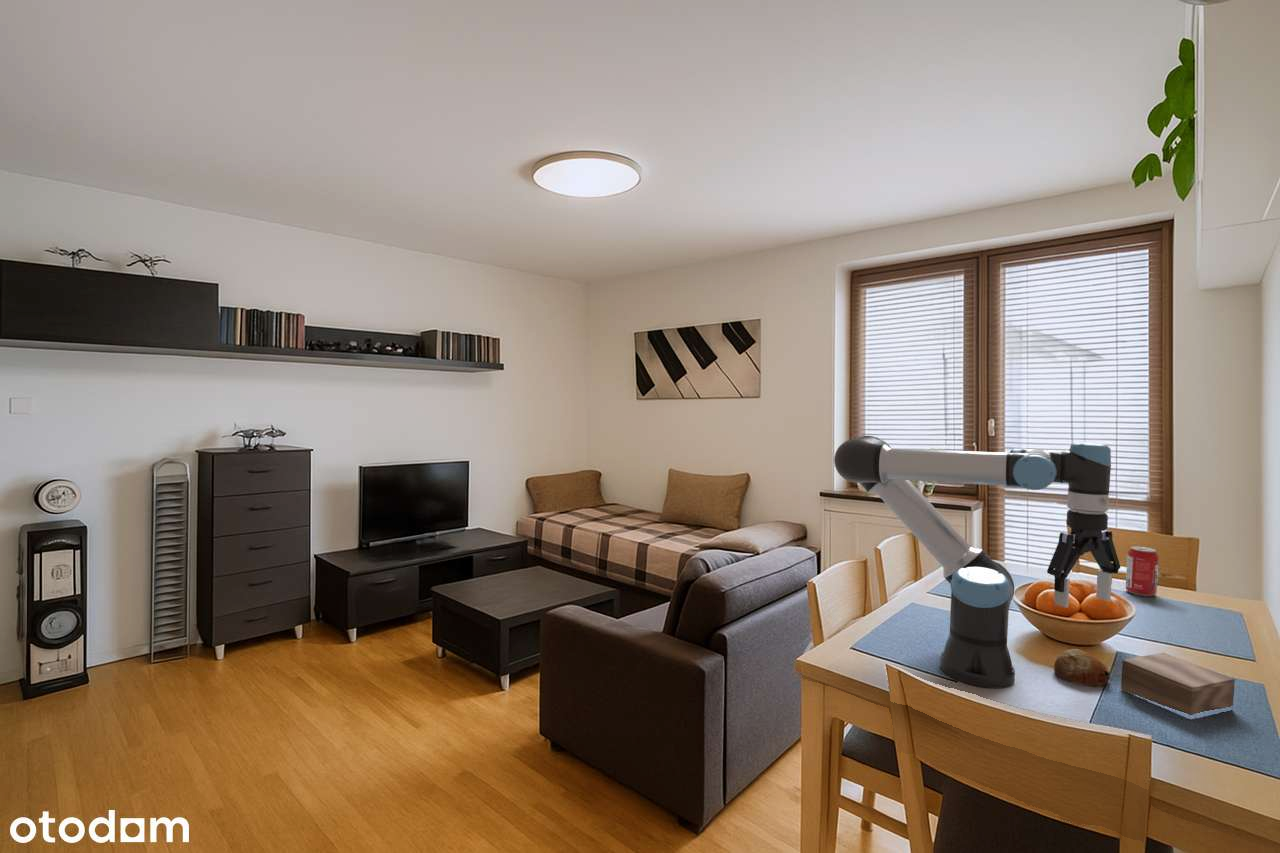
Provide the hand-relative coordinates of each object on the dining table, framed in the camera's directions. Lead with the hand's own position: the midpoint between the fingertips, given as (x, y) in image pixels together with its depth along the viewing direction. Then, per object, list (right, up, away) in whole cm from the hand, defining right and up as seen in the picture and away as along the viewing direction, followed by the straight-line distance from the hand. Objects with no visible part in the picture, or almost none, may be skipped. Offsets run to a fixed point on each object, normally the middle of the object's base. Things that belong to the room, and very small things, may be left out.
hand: (1082, 602), depth 139 cm
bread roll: (-1, -17, 0) cm, 17 cm away
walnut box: (+12, -18, -10) cm, 24 cm away
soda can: (+63, -15, +59) cm, 87 cm away
